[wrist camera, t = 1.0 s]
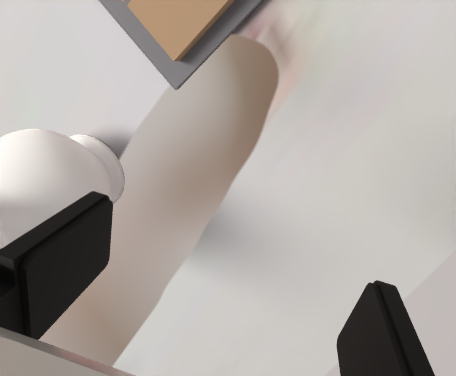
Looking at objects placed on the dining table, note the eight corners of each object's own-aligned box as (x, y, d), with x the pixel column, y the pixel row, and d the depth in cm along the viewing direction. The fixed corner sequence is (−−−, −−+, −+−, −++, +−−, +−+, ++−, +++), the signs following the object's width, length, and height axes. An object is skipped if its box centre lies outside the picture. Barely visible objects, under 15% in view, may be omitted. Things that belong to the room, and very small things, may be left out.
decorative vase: (132, 120, 44) (-48, 185, 21) (144, 226, 51) (18, 358, 29) (30, 114, 48) (-215, 163, 25) (54, 214, 55) (-120, 322, 32)
